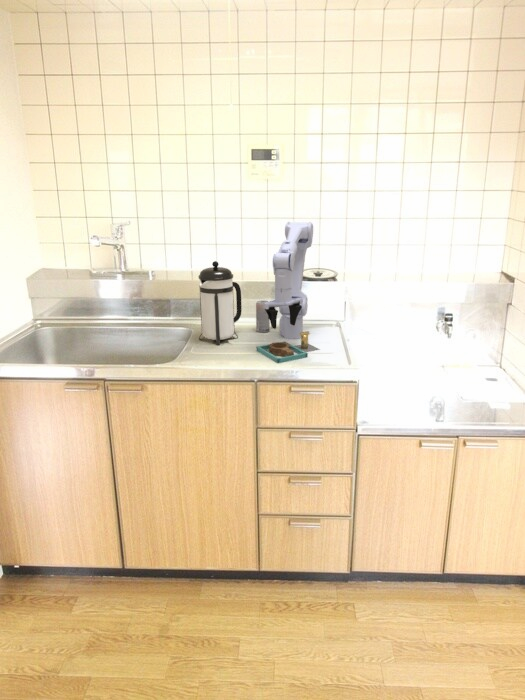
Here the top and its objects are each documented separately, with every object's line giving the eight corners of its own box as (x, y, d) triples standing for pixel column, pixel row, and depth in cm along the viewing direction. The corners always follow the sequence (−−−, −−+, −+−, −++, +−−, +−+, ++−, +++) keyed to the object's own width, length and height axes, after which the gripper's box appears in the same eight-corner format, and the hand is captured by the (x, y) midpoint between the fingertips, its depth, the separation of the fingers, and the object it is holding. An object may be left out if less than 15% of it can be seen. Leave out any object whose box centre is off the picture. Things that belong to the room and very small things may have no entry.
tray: (256, 353, 182) (256, 346, 181) (284, 347, 187) (284, 341, 186) (277, 366, 169) (277, 359, 169) (307, 359, 175) (307, 353, 174)
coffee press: (239, 345, 190) (237, 264, 180) (196, 345, 191) (191, 264, 181) (242, 331, 207) (240, 256, 197) (202, 332, 207) (198, 257, 197)
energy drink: (270, 329, 210) (270, 300, 206) (269, 333, 205) (268, 303, 201) (257, 329, 210) (256, 300, 206) (255, 332, 205) (255, 303, 201)
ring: (265, 352, 181) (265, 344, 180) (282, 349, 184) (282, 341, 183) (281, 361, 171) (281, 353, 170) (299, 358, 175) (299, 349, 174)
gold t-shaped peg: (298, 347, 184) (298, 331, 182) (306, 346, 185) (306, 330, 183) (302, 349, 182) (302, 333, 180) (310, 348, 183) (310, 332, 181)
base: (289, 349, 185) (289, 346, 185) (307, 345, 189) (307, 343, 188) (301, 355, 178) (301, 353, 178) (320, 352, 182) (320, 349, 182)
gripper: (270, 292, 169) (270, 332, 173) (307, 287, 175) (306, 326, 180) (260, 288, 175) (260, 327, 179) (296, 284, 181) (296, 321, 186)
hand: (283, 326), depth 180 cm, fingers open, 7 cm apart
